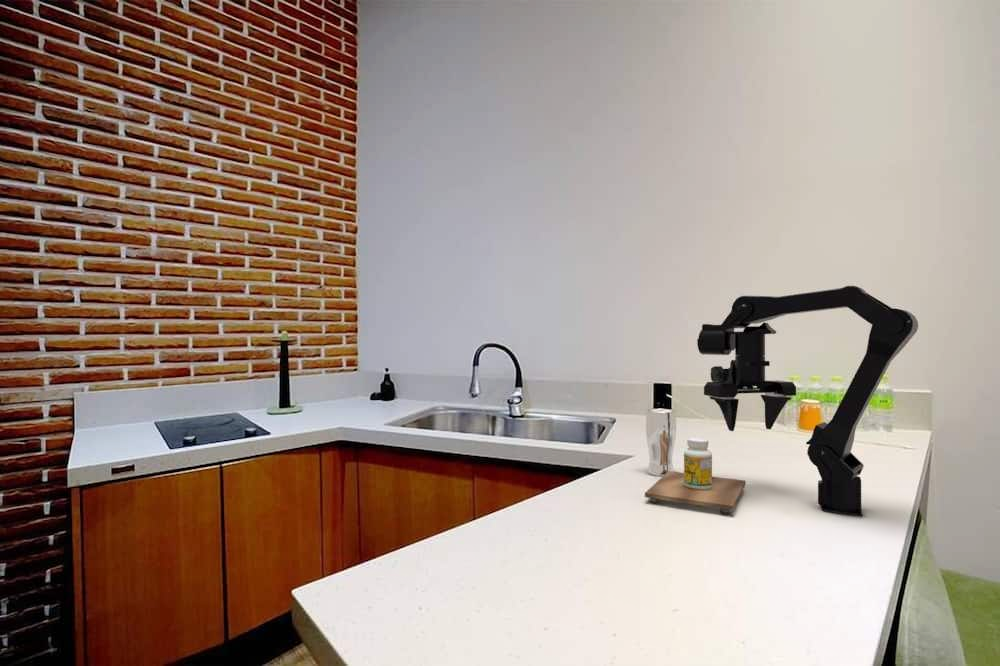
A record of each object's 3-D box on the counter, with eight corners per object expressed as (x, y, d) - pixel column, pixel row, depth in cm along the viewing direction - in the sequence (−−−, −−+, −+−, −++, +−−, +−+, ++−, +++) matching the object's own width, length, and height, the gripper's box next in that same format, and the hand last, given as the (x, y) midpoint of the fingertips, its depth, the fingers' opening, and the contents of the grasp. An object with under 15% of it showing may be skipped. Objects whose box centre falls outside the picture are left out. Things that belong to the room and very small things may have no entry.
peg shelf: (745, 490, 115) (745, 480, 115) (733, 517, 98) (733, 506, 98) (668, 479, 123) (668, 471, 123) (644, 503, 106) (644, 492, 106)
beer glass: (680, 477, 125) (680, 412, 125) (649, 477, 125) (649, 412, 125) (671, 469, 132) (671, 408, 132) (642, 469, 132) (642, 408, 132)
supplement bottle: (717, 489, 108) (717, 441, 108) (694, 491, 107) (695, 442, 107) (700, 482, 114) (700, 436, 114) (678, 483, 112) (678, 437, 112)
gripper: (759, 354, 124) (759, 422, 124) (688, 354, 119) (688, 425, 119) (798, 356, 113) (798, 430, 113) (721, 356, 108) (721, 434, 108)
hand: (750, 429), depth 114 cm, fingers open, 9 cm apart
